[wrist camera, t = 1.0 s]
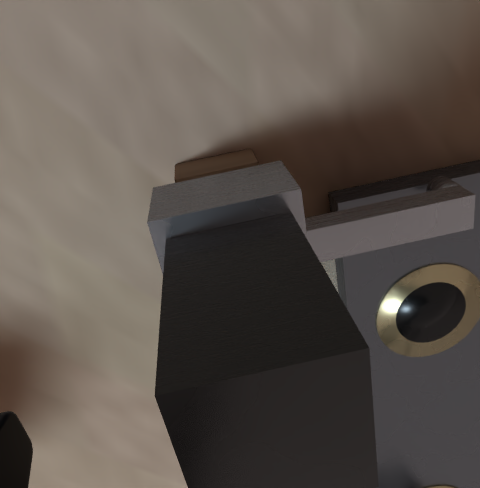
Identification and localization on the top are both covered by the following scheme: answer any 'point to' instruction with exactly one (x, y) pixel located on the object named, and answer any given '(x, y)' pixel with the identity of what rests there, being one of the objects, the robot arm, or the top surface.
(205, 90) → the top surface
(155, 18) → the top surface
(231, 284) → the sliding leg
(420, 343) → the hole plate
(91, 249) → the top surface
